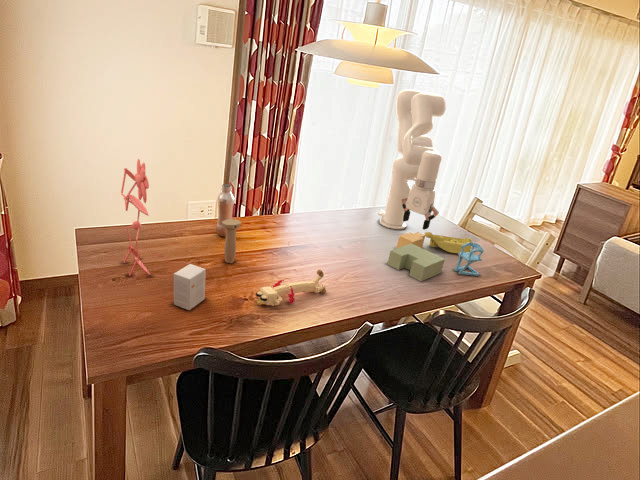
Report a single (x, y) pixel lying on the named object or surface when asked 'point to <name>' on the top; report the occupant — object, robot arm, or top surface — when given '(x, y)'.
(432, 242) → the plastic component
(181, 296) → the small box
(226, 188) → the plastic bottle
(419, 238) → the tan rectangular block
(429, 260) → the notch pad
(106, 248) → the top surface
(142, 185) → the figurine
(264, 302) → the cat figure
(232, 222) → the handle
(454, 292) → the top surface
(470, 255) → the chair
